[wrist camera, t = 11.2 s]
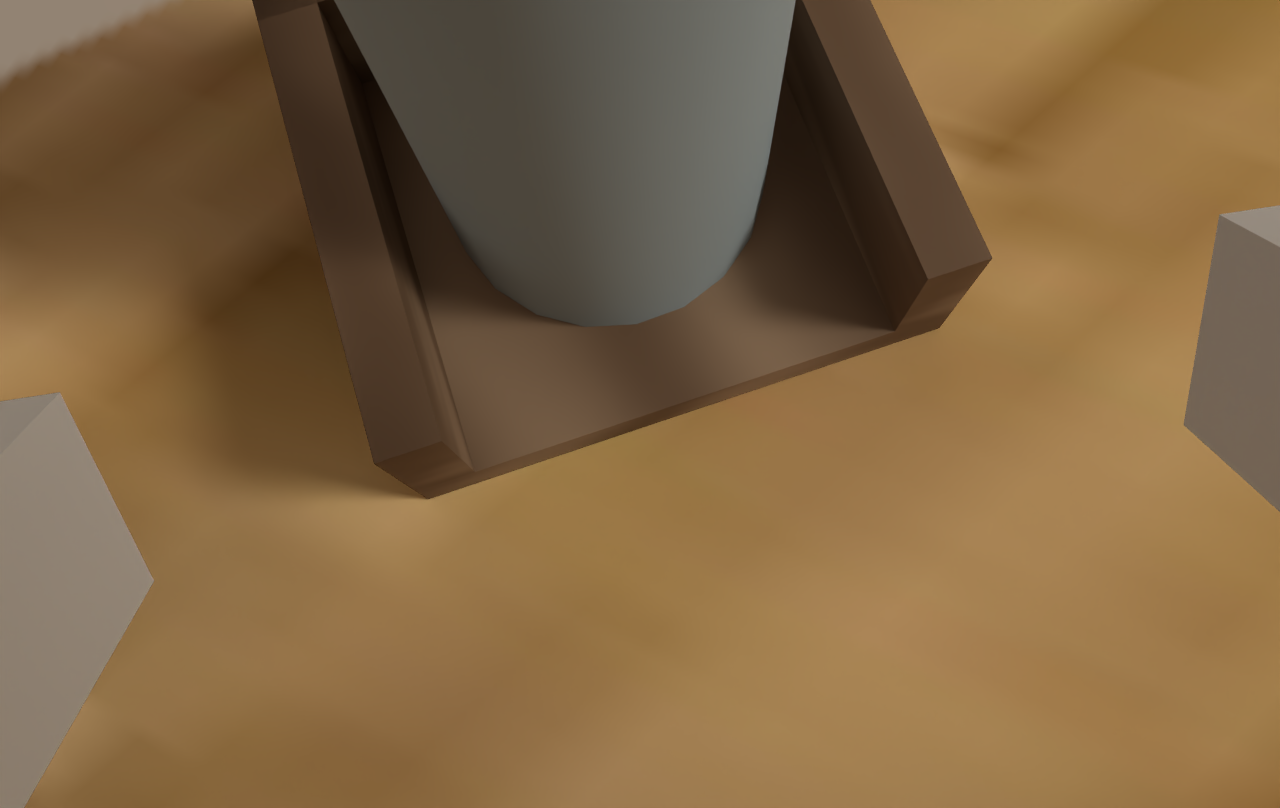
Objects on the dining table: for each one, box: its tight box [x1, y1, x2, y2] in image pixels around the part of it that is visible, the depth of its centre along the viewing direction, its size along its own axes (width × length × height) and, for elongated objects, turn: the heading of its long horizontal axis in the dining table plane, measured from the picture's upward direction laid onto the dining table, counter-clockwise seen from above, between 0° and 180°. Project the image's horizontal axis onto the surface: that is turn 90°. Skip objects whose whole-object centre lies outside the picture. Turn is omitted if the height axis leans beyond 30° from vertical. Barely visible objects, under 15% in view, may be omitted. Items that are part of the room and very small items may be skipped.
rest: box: [252, 0, 992, 499], centre depth 26 cm, size 15×14×5 cm
